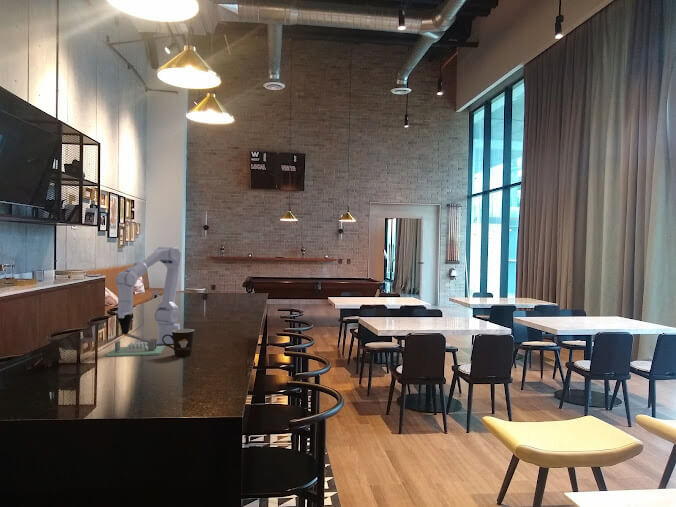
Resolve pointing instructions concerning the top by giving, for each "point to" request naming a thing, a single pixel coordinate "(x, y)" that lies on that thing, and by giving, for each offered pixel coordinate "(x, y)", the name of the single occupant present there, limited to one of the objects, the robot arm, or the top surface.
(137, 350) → the heatsink board
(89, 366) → the top surface
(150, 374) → the top surface
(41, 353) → the top surface
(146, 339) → the brown and grey bar
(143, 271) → the robot arm
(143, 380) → the top surface
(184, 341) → the coffee mug
